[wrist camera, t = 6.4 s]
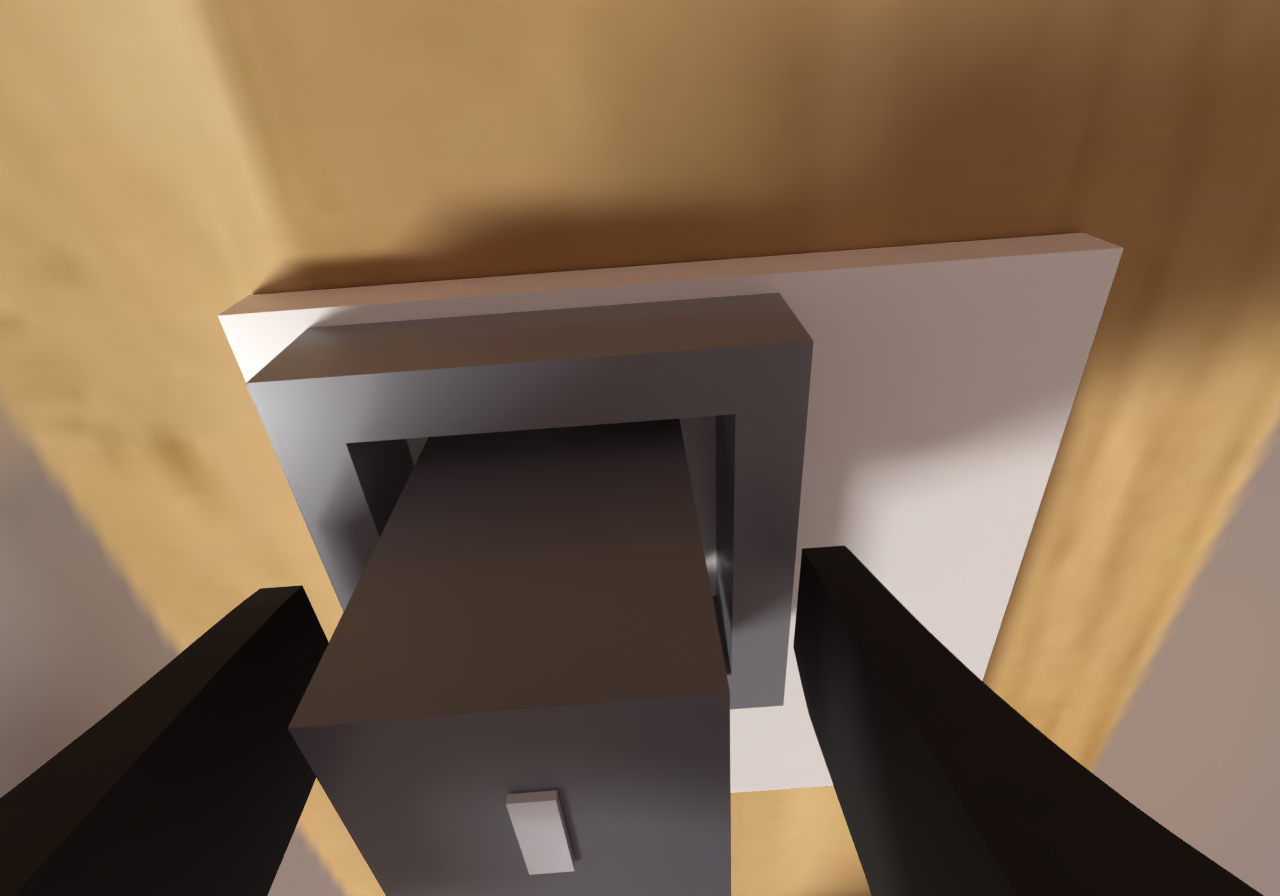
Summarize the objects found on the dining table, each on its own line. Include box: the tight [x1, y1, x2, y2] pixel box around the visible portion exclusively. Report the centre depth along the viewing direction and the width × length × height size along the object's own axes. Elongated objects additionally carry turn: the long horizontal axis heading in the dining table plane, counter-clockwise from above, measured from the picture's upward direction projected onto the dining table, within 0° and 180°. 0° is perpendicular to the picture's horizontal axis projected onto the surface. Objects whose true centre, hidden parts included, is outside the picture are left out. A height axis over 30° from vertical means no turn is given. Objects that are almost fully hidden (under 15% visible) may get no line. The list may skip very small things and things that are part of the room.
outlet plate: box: [218, 233, 1124, 793], centre depth 13 cm, size 14×14×3 cm
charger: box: [288, 419, 731, 896], centre depth 9 cm, size 4×4×6 cm
